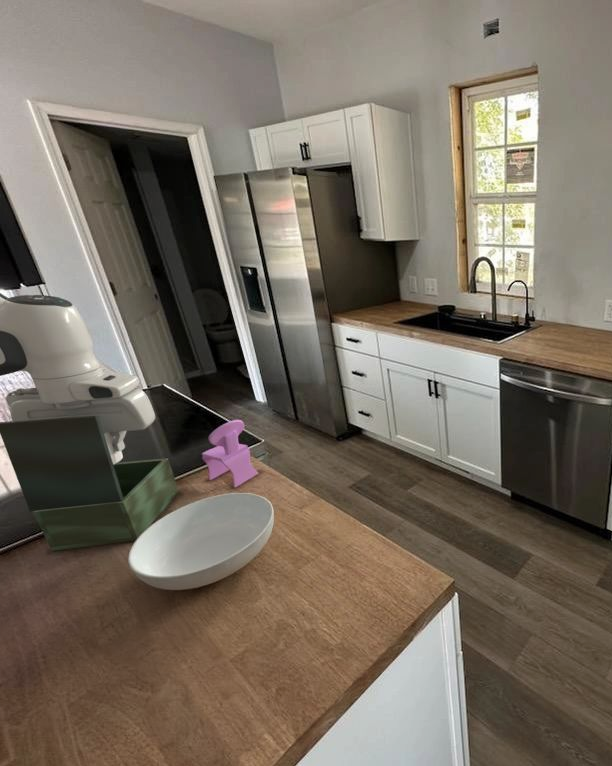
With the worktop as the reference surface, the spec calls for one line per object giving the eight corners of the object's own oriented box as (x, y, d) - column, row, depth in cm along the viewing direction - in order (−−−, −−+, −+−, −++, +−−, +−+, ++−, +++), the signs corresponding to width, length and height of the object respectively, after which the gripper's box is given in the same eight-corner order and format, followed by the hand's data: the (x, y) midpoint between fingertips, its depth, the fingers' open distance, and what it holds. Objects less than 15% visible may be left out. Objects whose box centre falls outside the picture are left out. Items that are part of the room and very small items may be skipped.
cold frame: (107, 499, 90) (93, 464, 87) (179, 491, 93) (168, 458, 90) (51, 551, 76) (32, 512, 73) (138, 540, 79) (123, 502, 76)
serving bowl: (140, 552, 76) (128, 522, 73) (267, 506, 89) (260, 480, 86) (140, 633, 61) (125, 599, 59) (292, 565, 74) (285, 535, 71)
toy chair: (235, 464, 104) (222, 410, 98) (262, 471, 101) (249, 416, 96) (203, 482, 96) (186, 425, 91) (230, 490, 94) (215, 432, 88)
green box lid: (0, 421, 68) (-4, 423, 67) (98, 415, 71) (95, 417, 70) (33, 508, 73) (29, 511, 72) (123, 499, 76) (121, 501, 75)
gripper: (-15, 396, 69) (19, 466, 75) (128, 388, 74) (150, 454, 79) (17, 383, 75) (47, 448, 80) (148, 376, 80) (168, 439, 85)
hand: (99, 451), depth 80 cm, fingers closed on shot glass, 5 cm apart
